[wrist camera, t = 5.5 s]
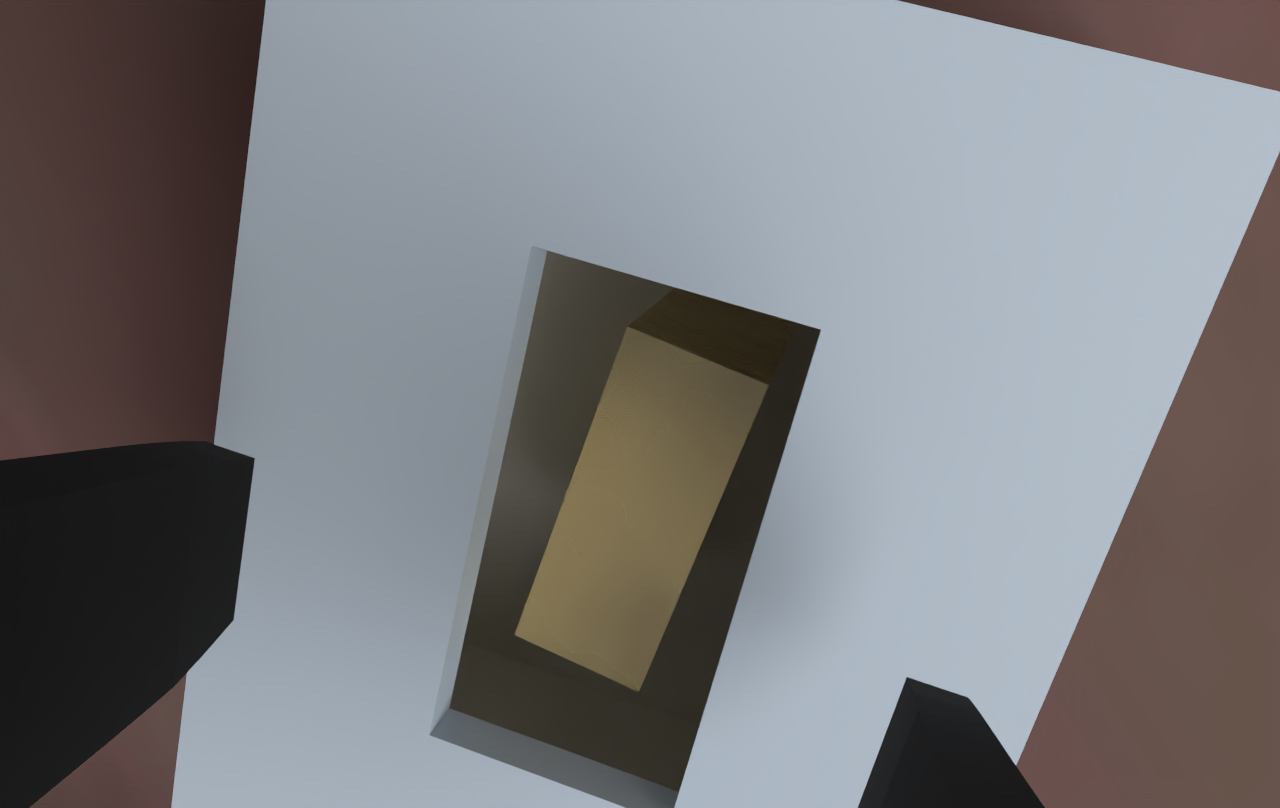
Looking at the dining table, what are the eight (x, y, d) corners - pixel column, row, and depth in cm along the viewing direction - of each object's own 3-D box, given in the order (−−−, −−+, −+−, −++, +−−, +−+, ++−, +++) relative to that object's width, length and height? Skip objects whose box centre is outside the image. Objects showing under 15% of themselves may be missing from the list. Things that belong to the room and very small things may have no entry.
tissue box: (873, 804, 21) (864, 1118, 14) (377, 628, 23) (168, 838, 16) (1141, 102, 17) (1302, 97, 10) (502, -55, 18) (283, -146, 12)
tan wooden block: (698, 554, 20) (639, 692, 15) (602, 512, 20) (514, 635, 15) (800, 314, 18) (768, 385, 13) (695, 271, 18) (627, 327, 14)
